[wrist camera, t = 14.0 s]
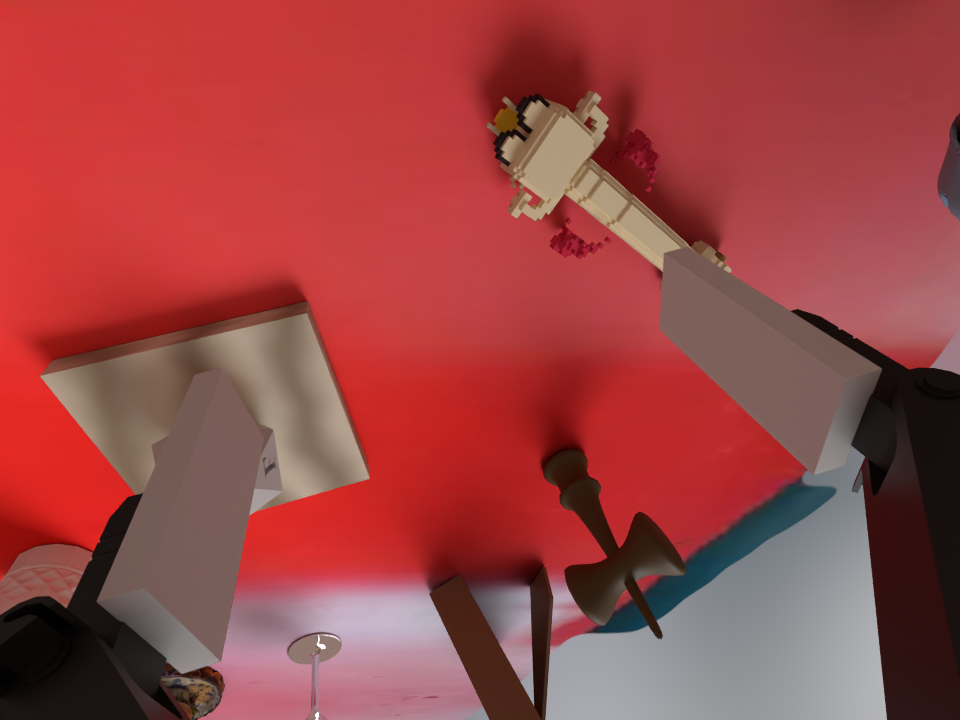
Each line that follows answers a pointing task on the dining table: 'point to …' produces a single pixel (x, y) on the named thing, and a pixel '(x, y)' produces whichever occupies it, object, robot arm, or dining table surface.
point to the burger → (194, 689)
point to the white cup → (44, 574)
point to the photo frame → (498, 649)
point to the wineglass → (314, 661)
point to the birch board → (254, 374)
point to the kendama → (609, 546)
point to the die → (267, 473)
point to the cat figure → (581, 176)
